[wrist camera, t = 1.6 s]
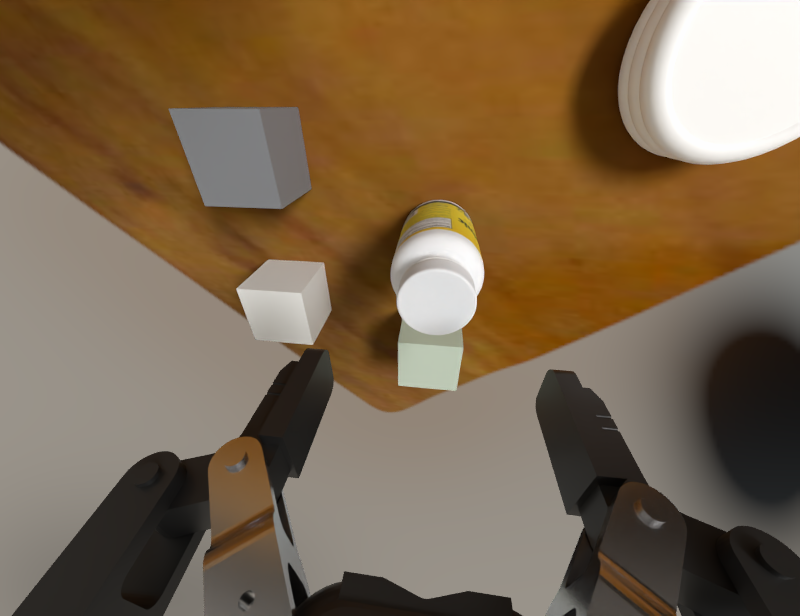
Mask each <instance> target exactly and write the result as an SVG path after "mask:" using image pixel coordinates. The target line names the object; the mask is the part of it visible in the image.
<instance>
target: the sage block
mask: <svg viewBox="0 0 800 616" xmlns="http://www.w3.org/2000/svg"><path fill="white" fill-rule="evenodd" d="M462 353H463V338H462V328H461V329H459V330H457V331H455V332H453V333H450V334H445V335H429V334H424V333H421V332H419V331H416V330H414V329H413V328H411V327H410V326H409V325H408V324H406V322H405V321H404V320H403V319H402V323H401V329H400V334H399V340H398V385H399V386H409V387H420V388H431V389H442V390H453V391H456V389H457V383H458V377H459V371H460V365H461V359H462Z"/></svg>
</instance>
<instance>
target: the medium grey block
mask: <svg viewBox="0 0 800 616" xmlns="http://www.w3.org/2000/svg"><path fill="white" fill-rule="evenodd" d="M169 111H170V114H171V117H172V119H173V122H174V125H175V127H176V130H177V133H178V135H179V138H180V141H181V143H182V146H183V149H184V151H185V154H186V157H187V159H188V162H189V165H190V167H191V170H192V173H193V175H194V178H195V181H196V183H197V186H198V189H199V191H200V194H201V197H202V199H203V202H204V205H205V206H218V207H245V208H272V209H282V208H284V207H285V206H287V205H288V204H290V203H291V202H293V201H294V200H296V199H297V198H299V197H300V196H302V195H303V194H305V193H306V192H308V191H309V190H311V183H310V176H309V170H308V164H307V158H306V152H305V146H304V140H303V134H302V128H301V122H300V116H299V110H298V107H210V108H175V109H169Z"/></svg>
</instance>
